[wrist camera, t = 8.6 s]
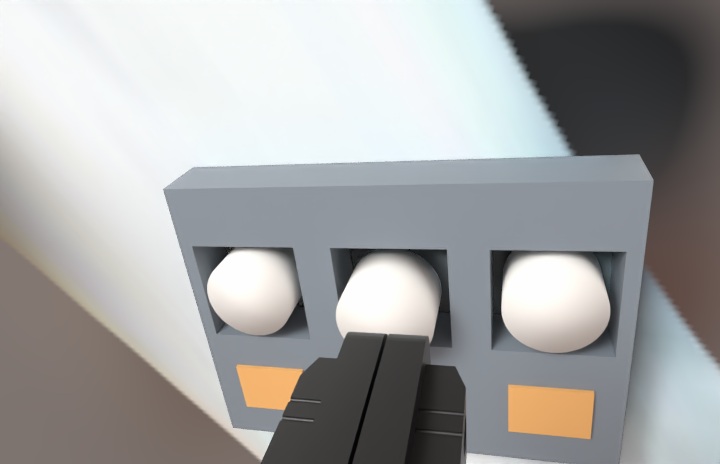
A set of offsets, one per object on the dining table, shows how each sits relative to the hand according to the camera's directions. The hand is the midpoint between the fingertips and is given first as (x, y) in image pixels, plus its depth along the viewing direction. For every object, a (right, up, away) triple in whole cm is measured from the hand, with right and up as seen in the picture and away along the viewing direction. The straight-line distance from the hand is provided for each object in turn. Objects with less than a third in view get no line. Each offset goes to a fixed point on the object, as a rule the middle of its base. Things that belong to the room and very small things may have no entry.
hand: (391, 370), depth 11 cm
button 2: (+9, 0, +17) cm, 19 cm away
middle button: (+1, 0, +18) cm, 18 cm away
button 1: (-6, +1, +21) cm, 22 cm away
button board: (+2, -1, +20) cm, 20 cm away
